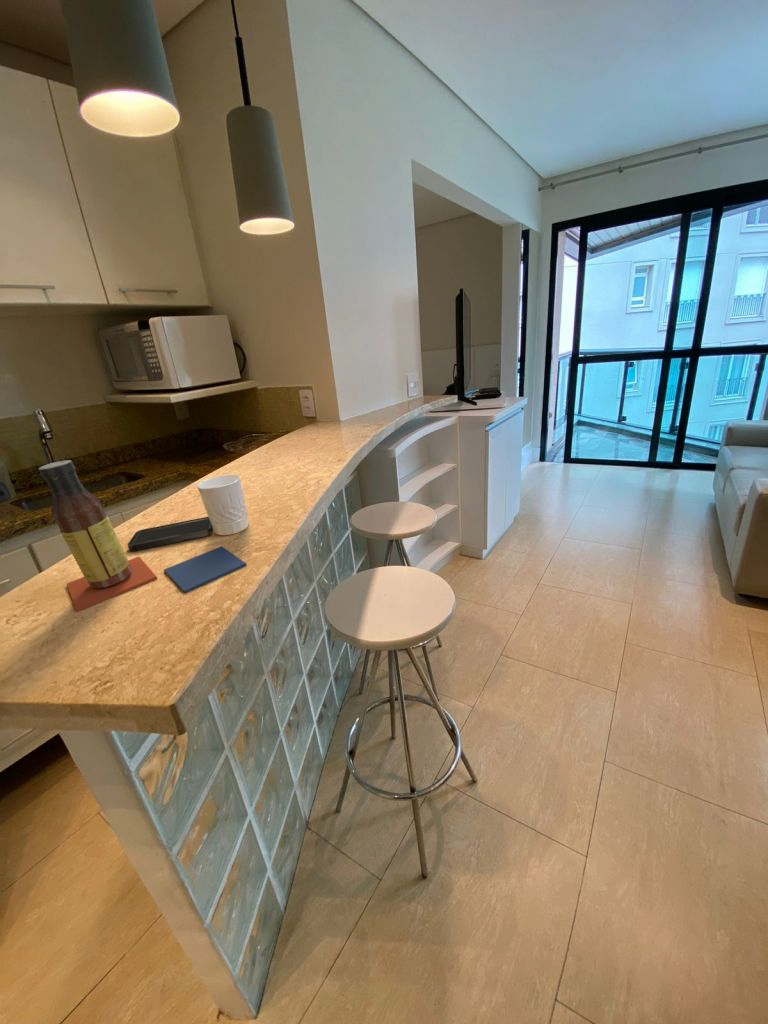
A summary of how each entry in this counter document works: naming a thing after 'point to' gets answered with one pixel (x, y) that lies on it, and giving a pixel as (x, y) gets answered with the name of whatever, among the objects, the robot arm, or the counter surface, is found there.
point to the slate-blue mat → (204, 568)
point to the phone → (170, 533)
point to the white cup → (224, 503)
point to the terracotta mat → (90, 596)
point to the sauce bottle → (85, 527)
